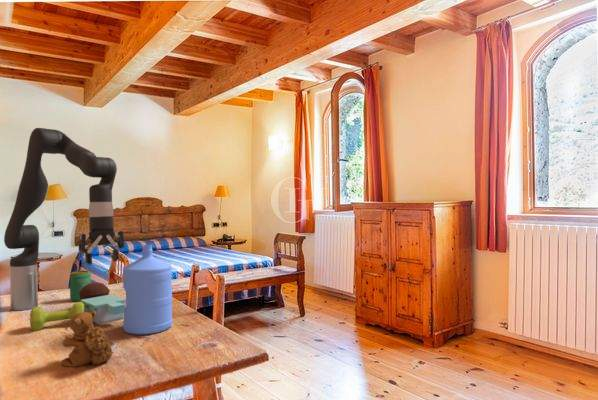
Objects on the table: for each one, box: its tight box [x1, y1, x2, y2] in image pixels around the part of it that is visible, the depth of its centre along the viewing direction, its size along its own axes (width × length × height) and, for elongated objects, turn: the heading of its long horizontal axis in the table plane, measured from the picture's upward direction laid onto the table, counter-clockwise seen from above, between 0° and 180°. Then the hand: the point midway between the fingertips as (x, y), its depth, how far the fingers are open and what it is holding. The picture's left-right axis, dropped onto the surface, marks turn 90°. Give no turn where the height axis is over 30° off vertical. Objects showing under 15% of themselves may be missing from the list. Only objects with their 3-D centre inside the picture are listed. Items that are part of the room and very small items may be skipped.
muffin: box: [79, 281, 111, 301], centre depth 166 cm, size 12×11×10 cm
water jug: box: [122, 244, 173, 336], centre depth 141 cm, size 16×16×28 cm
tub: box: [85, 303, 124, 325], centre depth 152 cm, size 12×9×6 cm
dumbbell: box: [29, 302, 85, 332], centre depth 144 cm, size 16×8×7 cm, turn 120°
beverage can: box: [69, 270, 92, 303], centre depth 180 cm, size 8×8×12 cm
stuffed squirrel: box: [60, 311, 114, 368], centre depth 112 cm, size 10×14×13 cm
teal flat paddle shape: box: [81, 294, 126, 315], centre depth 150 cm, size 19×11×3 cm, turn 49°
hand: (102, 262), depth 142 cm, fingers open, 8 cm apart
